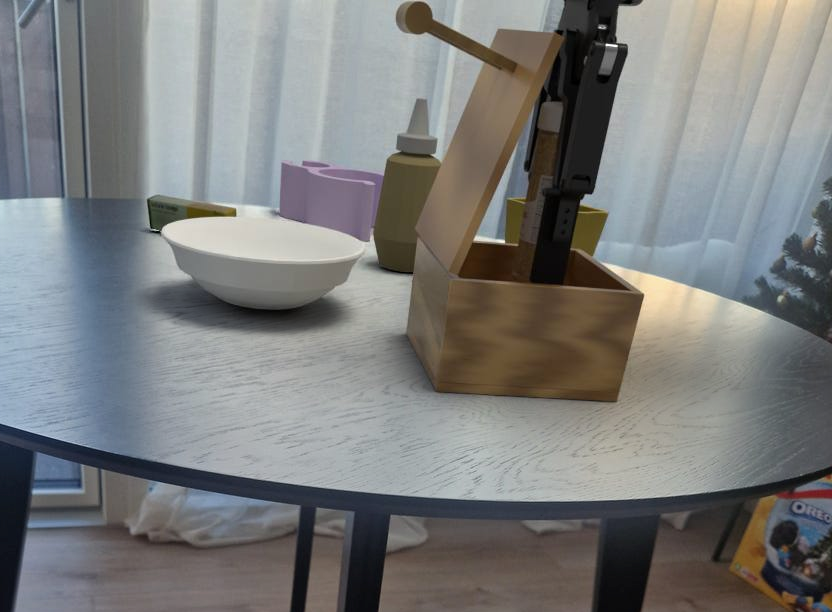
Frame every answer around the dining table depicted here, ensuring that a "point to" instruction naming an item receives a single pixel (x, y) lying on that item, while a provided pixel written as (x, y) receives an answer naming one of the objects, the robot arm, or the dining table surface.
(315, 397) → the dining table surface
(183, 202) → the medication box
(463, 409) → the dining table surface
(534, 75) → the chest lid
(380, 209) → the squeeze bottle
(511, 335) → the chest
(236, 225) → the bowl
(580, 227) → the flower pot
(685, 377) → the dining table surface
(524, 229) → the sprinkles bottle
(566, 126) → the robot arm
